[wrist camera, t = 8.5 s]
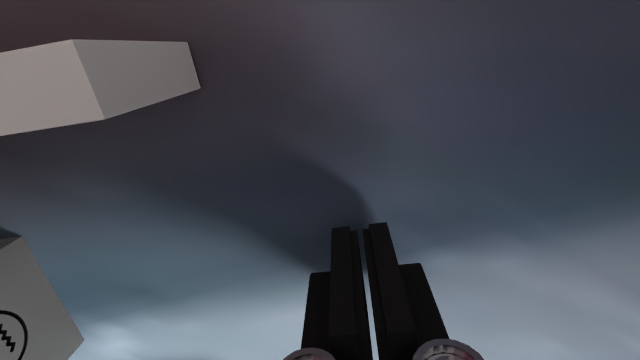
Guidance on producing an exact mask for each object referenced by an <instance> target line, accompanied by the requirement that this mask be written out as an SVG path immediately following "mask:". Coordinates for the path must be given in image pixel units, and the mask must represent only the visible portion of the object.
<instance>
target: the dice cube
mask: <svg viewBox="0 0 640 360" xmlns="http://www.w3.org/2000/svg"><path fill="white" fill-rule="evenodd" d="M83 341H84V338H83V337H82V335H81V333H80V332H79V330H78V328H77V327H76V325H75V323H74V322H73V320H72V318H71V317H70V315H69V313H68V312H67V310H66V308H65V307H64V305H63V303H62V302H61V300H60V298H59V297H58V295H57V293H56V292H55V290H54V288H53V287H52V285H51V283H50V282H49V280H48V278H47V277H46V275H45V273H44V272H43V270H42V268H41V267H40V265H39V263H38V262H37V260H36V258H35V257H34V255H33V253H32V252H31V250H30V248H29V247H28V245H27V243H26V242H25V240H24V238H23V237H22V236H20V237H12V238H3V239H0V360H68V358H69V357H70V356H71V355H72V354H73V353H74V351H75V350H76V349H77V348H78V347H79V346H80V344H81V343H82V342H83Z"/></svg>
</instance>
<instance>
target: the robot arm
mask: <svg viewBox="0 0 640 360" xmlns="http://www.w3.org/2000/svg"><path fill="white" fill-rule="evenodd" d="M363 237H364V245H365V253H366V261H367V269H368V277H369V285H370V293H371V301H372V309H373V317H374V324H375V332H376V340H377V347H378V355H379V360H484V359H483V358H482V356H481V355H480V354H479V353H478V352H476V351H475V350H474V349H472V348H471V347H470V346H468V345H466V344H464V343H461V342H459V341H456V340H451V339H449V337H448V334H447V331H446V329H445V326H444V323H443V321H442V318H441V315H440V313H439V310H438V307H437V305H436V302H435V300H434V297H433V294H432V292H431V289H430V286H429V284H428V281H427V278H426V276H425V273H424V270H423V268H422V266H421V264H420V263H413V264H403V265H398V262H397V258H396V254H395V251H394V247H393V243H392V240H391V236H390V232H389V229H388V225H387V222H384V223H375V224H369V229H363ZM283 360H373V356H372V347H371V338H370V329H369V320H368V311H367V302H366V294H365V287H364V279H363V272H362V264H361V257H360V249H359V242H358V235H357V230H354V231H350V227H349V226H347V227H338V228H332V241H331V269H330V271H329V272H318V273H311V274H310V279H309V287H308V295H307V304H306V312H305V320H304V328H303V336H302V344H301V349H300V350H297V351H294V352H293V353H291V354H290V355H288V356H287V357H285V358H284V359H283Z"/></svg>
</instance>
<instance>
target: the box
mask: <svg viewBox="0 0 640 360" xmlns="http://www.w3.org/2000/svg"><path fill="white" fill-rule="evenodd" d="M198 89H201V87H200V84H199V80H198V77H197V73H196V70H195V67H194V63H193V60H192V56H191V53H190V49H189V46H188V42H169V41H124V40H80V39H70V40H65V41H60V42H54V43H49V44H44V45H38V46H33V47H28V48H22V49H17V50H12V51H6V52H1V53H0V136H3V135H10V134H16V133H23V132H29V131H35V130H42V129H48V128H54V127H61V126H67V125H73V124H80V123H86V122H92V121H99V120H105V119H108V118H111V117H114V116H117V115H120V114H124V113H127V112H130V111H133V110H136V109H139V108H142V107H145V106H148V105H151V104H155V103H158V102H161V101H164V100H167V99H170V98H173V97H176V96H179V95H182V94H186V93H189V92H192V91H195V90H198Z"/></svg>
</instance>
